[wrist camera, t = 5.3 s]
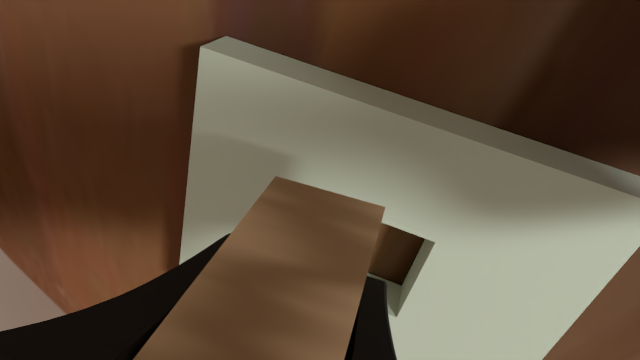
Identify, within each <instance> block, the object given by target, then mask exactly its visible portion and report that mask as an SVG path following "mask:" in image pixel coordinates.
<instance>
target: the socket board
mask: <svg viewBox="0 0 640 360" xmlns="http://www.w3.org/2000/svg"><path fill="white" fill-rule="evenodd" d="M275 176H278V177H281V178H285V179H288V180H292V181H295V182H299V183H302V184H306V185H309V186H313V187H316V188H320V189H324V190H327V191H331V192H334V193H338V194H341V195H345V196H348V197H352V198H355V199H359V200H362V201H366V202H369V203H373V204H376V205H380V206H383V207H385V211H384V214H383V218H382V223H385V224H387V225H390V226H393V227H395V228H398V229H401V230H403V231H406V232H409V233H411V234H414V235H417V236H419V237H422V238H425V240H424V242H423V244H422V246H421V248H420V250H419V252H418V254H417V256H416V258H415V260H414V262H413V264H412V266H411V268H410V270H409V272H408V274H407V276H406V278H405V280H404V282H403V284H402V286H401V285H398V284H396V283H393V282H391V281H388V280H386V279H383V278H380V277H378V276H375V275H373V274H370V273H367V276H369V277H373V278H376V279H379V280H382V281H385V283H386V284H387V307H388V316H389V323H390V329H391V334H392V340H393V345H394V349H395V354H396V357H397V360H542V359H543V358H544V356H545V355H546V354H547V353H548V352H549V351H550V349H551V348H552V347H553V346H554V345H555V344H556V342H557V341H558V340H559V339H560V338H561V337H562V335H563V334H564V333H565V332H566V331H567V330H568V329H569V327H570V326H571V325H572V324H573V323H574V322H575V320H576V319H577V318H578V317H579V316H580V315H581V313H582V312H583V311H584V310H585V309H586V308H587V306H588V305H589V304H590V303H591V302H592V301H593V299H594V298H595V297H596V296H597V295H598V294H599V292H600V291H601V290H602V289H603V288H604V287H605V285H606V284H607V283H608V282H609V281H610V280H611V279H612V277H613V276H614V275H615V274H616V273H617V272H618V270H619V269H620V268H621V267H622V266H623V265H624V263H625V262H626V261H627V260H628V259H629V258H630V256H631V255H632V254H633V253H634V252H635V251H636V249H637V248H638V247H639V246H640V176H638V175H635V174H632V173H629V172H626V171H623V170H620V169H617V168H614V167H611V166H608V165H605V164H602V163H599V162H596V161H593V160H590V159H587V158H585V157H582V156H579V155H576V154H573V153H570V152H567V151H564V150H561V149H558V148H555V147H552V146H549V145H546V144H543V143H540V142H537V141H534V140H531V139H529V138H526V137H523V136H520V135H517V134H514V133H511V132H508V131H505V130H502V129H499V128H496V127H493V126H490V125H487V124H484V123H481V122H478V121H476V120H473V119H470V118H467V117H464V116H461V115H458V114H455V113H452V112H449V111H446V110H443V109H440V108H437V107H434V106H431V105H428V104H425V103H422V102H420V101H417V100H414V99H411V98H408V97H405V96H402V95H399V94H396V93H393V92H390V91H387V90H384V89H381V88H378V87H375V86H372V85H369V84H366V83H364V82H361V81H358V80H355V79H352V78H349V77H346V76H343V75H340V74H337V73H334V72H331V71H328V70H325V69H322V68H319V67H316V66H313V65H311V64H308V63H305V62H302V61H299V60H296V59H293V58H290V57H287V56H284V55H281V54H278V53H275V52H272V51H269V50H266V49H263V48H260V47H257V46H255V45H252V44H249V43H246V42H243V41H240V40H237V39H234V38H231V37H228V36H225V37H222V38H220V39H218V40H215V41H213V42H210V43H208V44H205V45H203V46H200V54H199V64H198V75H197V85H196V96H195V106H194V116H193V127H192V137H191V148H190V158H189V168H188V179H187V189H186V200H185V210H184V220H183V231H182V241H181V252H180V262H179V265H180V264H181V263H183V262H185V261H186V260H188V259H190V258H191V257H193V256H194V255H196V254H198V253H199V252H201V251H202V250H204V249H205V248H207V247H208V246H210V245H211V244H213V243H214V242H216V241H217V240H219V239H220V238H222V237H224V236H225V235H227V234H229V233H232V232H233V230H234V229H235V228H236V226H237V225H238V224H239V223H240V221H241V220H242V219H243V217H244V216H245V215H246V213H247V212H248V211H249V210H250V208H251V207H252V206H253V204H254V203H255V202H256V201H257V199H258V198H259V197H260V195H261V194H262V193H263V192H264V190H265V189H266V188H267V186H268V185H269V184H270V183H271V181H272V180H273V179H274V177H275Z"/></svg>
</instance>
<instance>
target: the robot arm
mask: <svg viewBox="0 0 640 360" xmlns="http://www.w3.org/2000/svg"><path fill="white" fill-rule="evenodd" d="M230 234H231V233H229V234H227V235H225V236H224V237H222V238H220V239H219V240H217V241H216V242H214V243H213V244H211V245H210V246H208V247H207V248H205V249H204V250H202V251H201V252H199V253H198V254H196V255H194V256H193V257H191V258H190V259H188V260H186V261H185V262H183V263H181V264H180V265H178V266H177V267H175V268H173V269H171V270H170V271H168V272H166V273H164V274H162V275H160V276H159V277H157V278H155V279H153V280H151V281H149V282H147V283H145V284H143V285H141V286H139V287H137V288H135V289H133V290H131V291H129V292H126V293H124V294H122V295H120V296H117V297H115V298H112V299H110V300H107V301H104V302H102V303H99V304H96V305H94V306H91V307H89V308H86V309H83V310H80V311H77V312H74V313H70V314H67V315H64V316H61V317H57V318H54V319H51V320H47V321H43V322H39V323H35V324H31V325H27V326H22V327H18V328H14V329H10V330H6V331H1V332H0V360H133V359H134V358H135V356H136V355H137V354H138V353H139V351H140V350H141V349H142V347H143V346H144V345H145V344H146V342H147V341H148V340H149V338H150V337H151V336H152V335H153V333H154V332H155V331H156V329H157V328H158V327H159V325H160V324H161V323H162V322H163V320H164V319H165V318H166V316H167V315H168V314H169V313H170V311H171V310H172V309H173V307H174V306H175V305H176V304H177V302H178V301H179V300H180V298H181V297H182V296H183V295H184V293H185V292H186V291H187V289H188V288H189V287H190V286H191V284H192V283H193V282H194V280H195V279H196V278H197V277H198V275H199V274H200V273H201V271H202V270H203V269H204V268H205V266H206V265H207V264H208V262H209V261H210V260H211V259H212V257H213V256H214V255H215V253H216V252H217V251H218V250H219V248H220V247H221V246H222V244H223V243H224V242H225V241H226V239H227V238H228V237H229V235H230ZM344 360H397V357H396V354H395V349H394V345H393V340H392V334H391V329H390V323H389V316H388V307H387V284H386V283H385V281H382V280H379V279H376V278H373V277H369V276H367V277H366V281H365V284H364V288H363V292H362V296H361V299H360V303H359V307H358V310H357V314H356V318H355V321H354V325H353V329H352V333H351V336H350V340H349V344H348V347H347V351H346V355H345V358H344Z"/></svg>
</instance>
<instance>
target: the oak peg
mask: <svg viewBox="0 0 640 360" xmlns="http://www.w3.org/2000/svg"><path fill="white" fill-rule="evenodd" d="M384 211H385V207H383V206H380V205H376V204H373V203H369V202H366V201H362V200H359V199H355V198H352V197H348V196H345V195H341V194H338V193H334V192H331V191H327V190H324V189H320V188H316V187H313V186H309V185H306V184H302V183H299V182H295V181H292V180H288V179H285V178H281V177H278V176H275V177H274V179H273V180H272V181H271V183H270V184H269V185H268V186H267V188H266V189H265V190H264V192H263V193H262V194H261V195H260V197H259V198H258V199H257V201H256V202H255V203H254V204H253V206H252V207H251V208H250V210H249V211H248V212H247V213H246V215H245V216H244V217H243V219H242V220H241V221H240V223H239V224H238V225H237V226H236V228H235V229H234V230H233V232H232V233H231V234H230V235H229V237H228V238H227V239H226V241H225V242H224V243H223V244H222V246H221V247H220V248H219V250H218V251H217V252H216V253H215V255H214V256H213V257H212V259H211V260H210V261H209V262H208V264H207V265H206V266H205V268H204V269H203V270H202V271H201V273H200V274H199V275H198V277H197V278H196V279H195V280H194V282H193V283H192V284H191V286H190V287H189V288H188V289H187V291H186V292H185V293H184V295H183V296H182V297H181V298H180V300H179V301H178V302H177V304H176V305H175V306H174V307H173V309H172V310H171V311H170V313H169V314H168V315H167V316H166V318H165V319H164V320H163V322H162V323H161V324H160V325H159V327H158V328H157V329H156V331H155V332H154V333H153V335H152V336H151V337H150V338H149V340H148V341H147V342H146V344H145V345H144V346H143V347H142V349H141V350H140V351H139V353H138V354H137V355H136V356H135V358H134V359H133V360H344V358H345V355H346V351H347V347H348V344H349V340H350V336H351V333H352V329H353V325H354V321H355V318H356V314H357V310H358V307H359V303H360V299H361V296H362V292H363V288H364V284H365V281H366V277H367V273H368V270H369V266H370V262H371V259H372V255H373V251H374V248H375V244H376V240H377V236H378V233H379V229H380V225H381V222H382V218H383V214H384Z"/></svg>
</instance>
